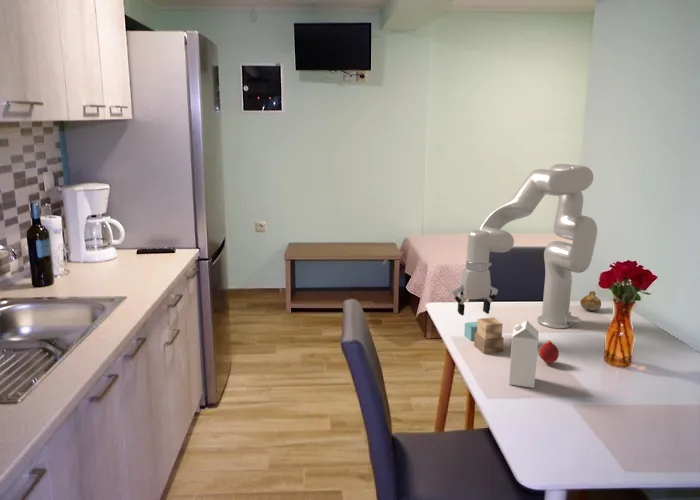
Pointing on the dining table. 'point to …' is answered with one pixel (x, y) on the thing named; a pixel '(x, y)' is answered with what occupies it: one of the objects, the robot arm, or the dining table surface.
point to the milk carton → (523, 355)
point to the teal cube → (470, 330)
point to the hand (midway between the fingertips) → (473, 313)
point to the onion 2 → (590, 302)
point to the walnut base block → (488, 344)
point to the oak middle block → (489, 328)
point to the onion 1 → (549, 352)
